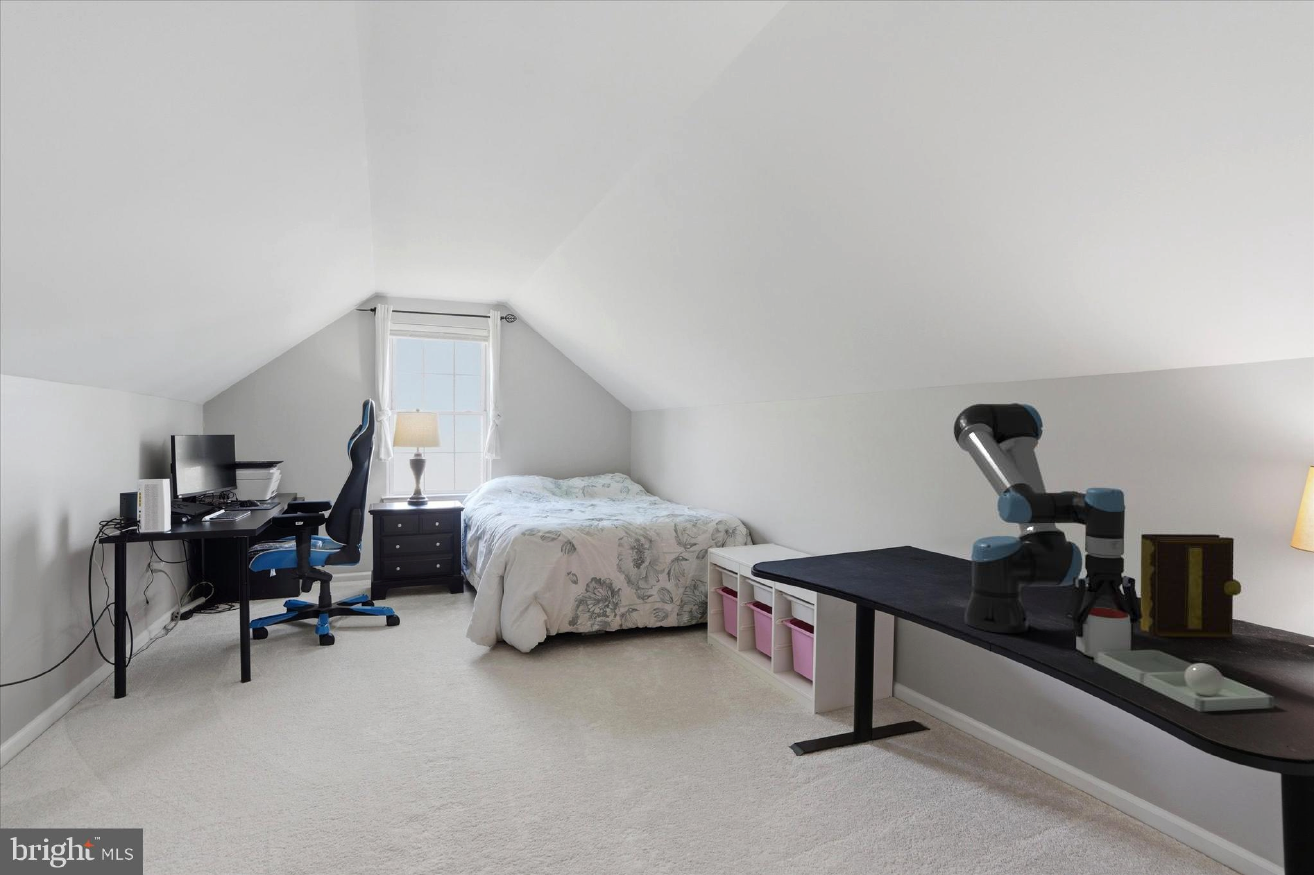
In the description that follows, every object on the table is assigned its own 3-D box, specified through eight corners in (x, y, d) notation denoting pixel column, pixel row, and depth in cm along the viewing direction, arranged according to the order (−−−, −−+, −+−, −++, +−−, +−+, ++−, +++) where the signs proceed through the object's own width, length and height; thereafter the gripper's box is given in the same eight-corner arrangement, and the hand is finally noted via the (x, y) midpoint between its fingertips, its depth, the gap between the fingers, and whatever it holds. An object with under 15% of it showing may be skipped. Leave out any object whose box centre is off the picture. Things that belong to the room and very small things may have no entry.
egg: (1176, 689, 133) (1176, 659, 133) (1203, 687, 134) (1204, 657, 133) (1203, 701, 127) (1204, 670, 127) (1232, 700, 128) (1232, 669, 127)
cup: (1109, 647, 161) (1109, 606, 161) (1140, 662, 151) (1140, 618, 151) (1068, 648, 161) (1068, 606, 161) (1097, 663, 151) (1097, 619, 151)
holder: (1094, 666, 149) (1094, 652, 149) (1156, 663, 150) (1156, 649, 150) (1199, 717, 123) (1199, 700, 123) (1273, 713, 124) (1273, 696, 124)
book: (1156, 637, 168) (1157, 538, 167) (1134, 627, 177) (1135, 533, 176) (1248, 639, 167) (1249, 539, 166) (1221, 628, 175) (1222, 533, 175)
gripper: (1070, 559, 151) (1069, 657, 151) (1162, 556, 153) (1161, 653, 153) (1047, 552, 158) (1047, 646, 159) (1136, 550, 160) (1135, 642, 161)
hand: (1103, 649), depth 156 cm, fingers closed on cup, 10 cm apart
